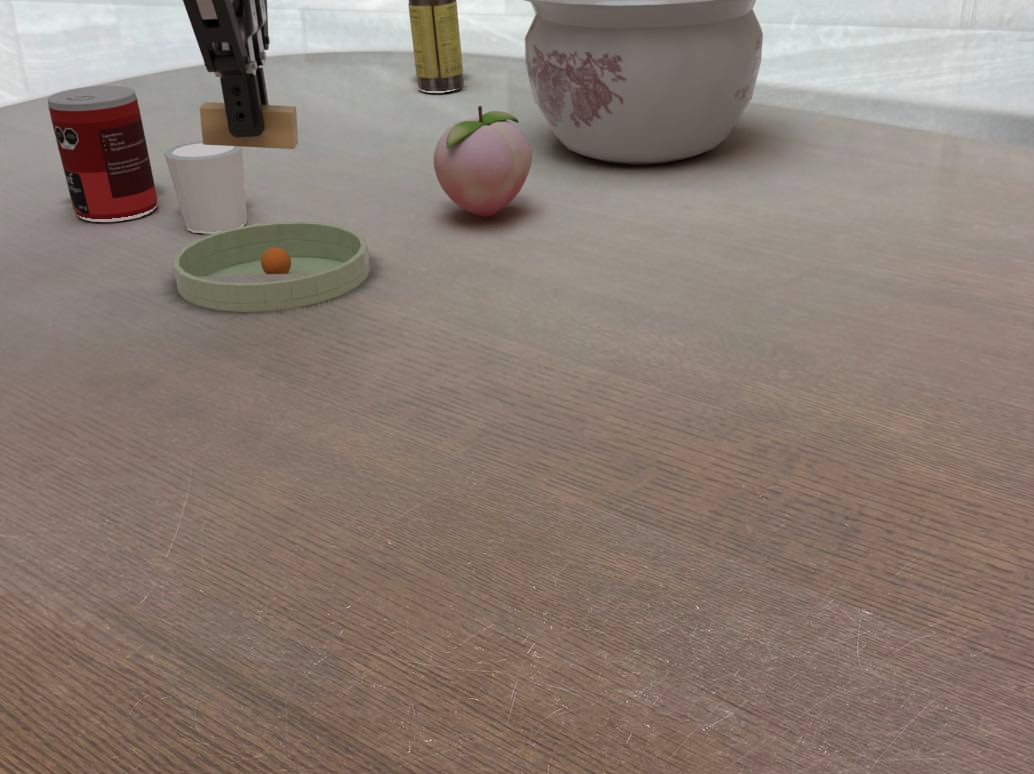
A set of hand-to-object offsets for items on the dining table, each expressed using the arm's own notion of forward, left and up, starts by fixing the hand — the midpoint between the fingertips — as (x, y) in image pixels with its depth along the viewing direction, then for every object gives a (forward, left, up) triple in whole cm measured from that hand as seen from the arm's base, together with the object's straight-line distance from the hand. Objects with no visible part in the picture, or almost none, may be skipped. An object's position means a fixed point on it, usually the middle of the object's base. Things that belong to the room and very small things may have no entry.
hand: (251, 130), depth 79 cm
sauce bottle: (+4, +85, -15) cm, 86 cm away
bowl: (-3, +10, -15) cm, 19 cm away
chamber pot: (+29, +52, -15) cm, 61 cm away
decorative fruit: (+13, +29, -15) cm, 35 cm away
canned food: (-23, +34, -15) cm, 44 cm away
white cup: (-12, +29, -15) cm, 35 cm away
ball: (-3, +13, -13) cm, 19 cm away
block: (0, 0, -1) cm, 1 cm away
